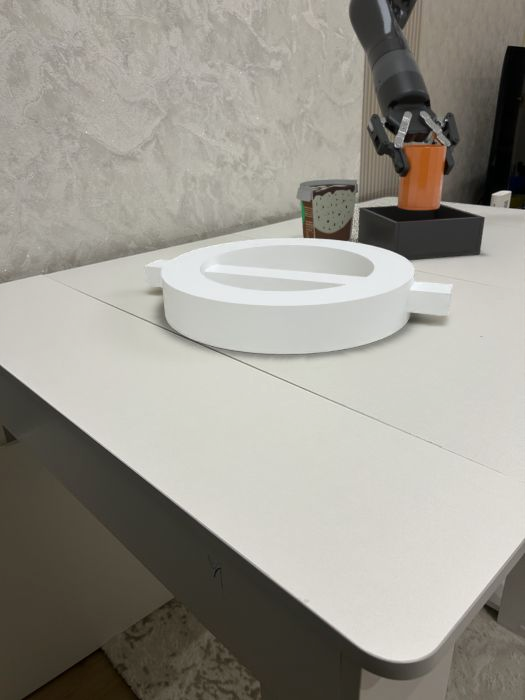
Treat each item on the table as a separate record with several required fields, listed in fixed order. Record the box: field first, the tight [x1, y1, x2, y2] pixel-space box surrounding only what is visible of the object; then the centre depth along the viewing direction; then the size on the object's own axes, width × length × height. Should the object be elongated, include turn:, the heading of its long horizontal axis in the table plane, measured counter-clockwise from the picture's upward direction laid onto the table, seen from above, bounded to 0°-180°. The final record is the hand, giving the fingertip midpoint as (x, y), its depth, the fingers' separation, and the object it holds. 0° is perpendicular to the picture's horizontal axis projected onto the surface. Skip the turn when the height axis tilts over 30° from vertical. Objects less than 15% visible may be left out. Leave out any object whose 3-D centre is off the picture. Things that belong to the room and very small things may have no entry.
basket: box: [357, 203, 486, 261], centre depth 87 cm, size 14×14×6 cm
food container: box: [295, 178, 359, 242], centre depth 90 cm, size 12×6×10 cm, turn 134°
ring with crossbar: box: [143, 237, 454, 355], centre depth 63 cm, size 28×28×5 cm
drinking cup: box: [397, 144, 447, 210], centre depth 84 cm, size 6×6×9 cm
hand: (427, 172), depth 82 cm, fingers closed on drinking cup, 6 cm apart
